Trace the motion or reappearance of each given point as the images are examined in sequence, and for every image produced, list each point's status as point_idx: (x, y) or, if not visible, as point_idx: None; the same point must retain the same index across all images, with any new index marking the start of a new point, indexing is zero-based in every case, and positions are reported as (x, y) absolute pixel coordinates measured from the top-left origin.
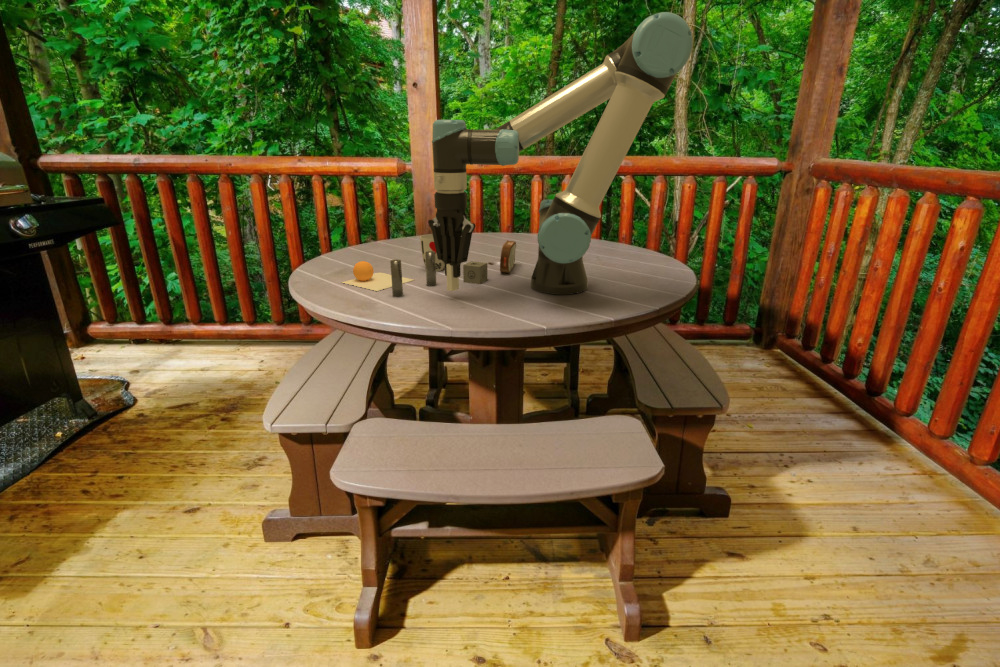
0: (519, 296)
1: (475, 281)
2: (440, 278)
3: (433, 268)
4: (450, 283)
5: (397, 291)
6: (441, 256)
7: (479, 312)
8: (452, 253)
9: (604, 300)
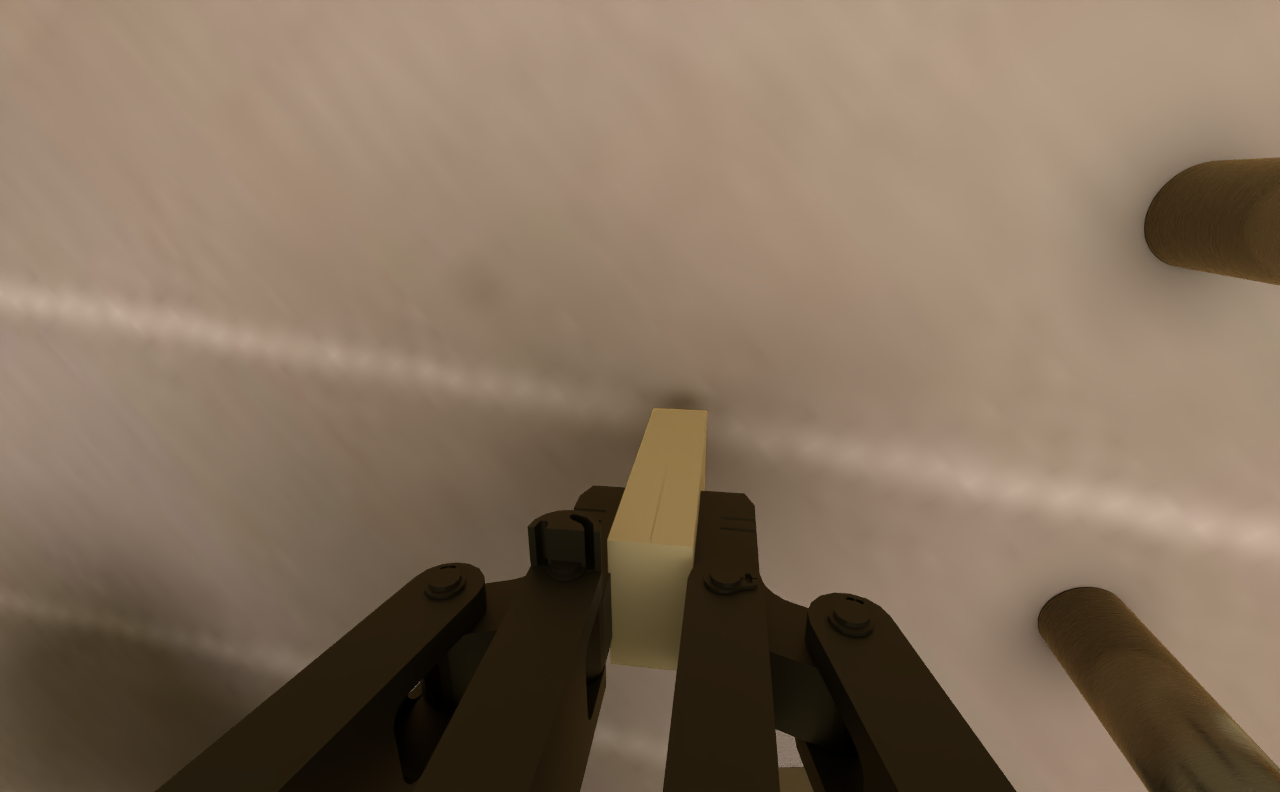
0: None
1: (787, 783)
2: (1117, 780)
3: (1137, 738)
4: (659, 436)
5: (1218, 176)
6: (813, 641)
7: (322, 270)
8: (531, 670)
9: (74, 776)
